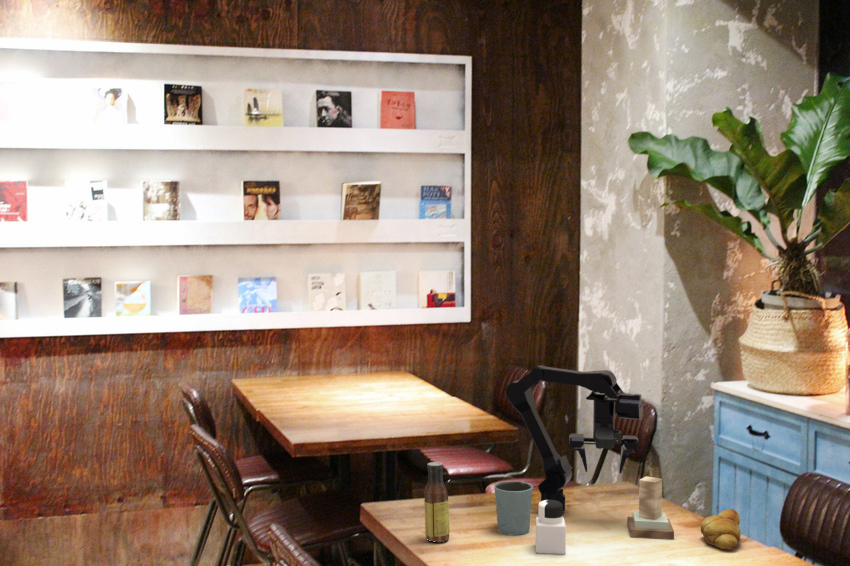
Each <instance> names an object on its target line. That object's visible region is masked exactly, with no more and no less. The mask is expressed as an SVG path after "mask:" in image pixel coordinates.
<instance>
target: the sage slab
mask: <svg viewBox="0 0 850 566" xmlns="http://www.w3.org/2000/svg"><path fill="white" fill-rule="evenodd" d="M632 517H633V522H634V526H635V528H639V529H658V530H669V522H668V519H669V518H668V517H667V515H666V513H665V512H662V516H661V517H660V518H658V519H657V520H651V519H646V518H641V517H639V510H632Z"/></svg>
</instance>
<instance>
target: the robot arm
mask: <svg viewBox="0 0 850 566" xmlns="http://www.w3.org/2000/svg"><path fill="white" fill-rule="evenodd" d="M541 382H549V383H550V382H551V383H557V384H563V385H564V384H565V385H571V386H576V387H577V386H579V387H582V388H584V389H586V390H589V391H591V392H590V393H589V394H588V396H586V397H585V399H586V401H593V412H592V413H593V415H592V416H593V418H592V419H593V421H592V422H593V423H592V431H593V432H592V437H585V435H584V433H570V434H569V436H568V437H569V439H568V440H569V442H568V443H569V448H573V450H574V451H577V452H578V454H579V456H580V458H581V461H582V464H583V467H584V471H585V473H588V463H587V462H588V461H587V454H586V446H585V445H595V448H596V449H598V450H599V449H600V450H601V449H608V450H613V449H614V447H615V446H621V448H620V449H621V450H620V458H619V471H618V473H619V474H622V471H623V470H624V469H623V468H624V466H625V464H626V460H627V459H628V457H629V455H630V454H631V453H632V454H633V453H634V452H635V451H639V450H640V441H639V438H638V437H637V436H636V435H623V436H622V430H615V414H616V416H618V417H619V419H628V420H638V421H641V420H642V418H643V415H644V414H643V413H644V405H643V400H642V394H641V393H636V394H635V393H634V394H628V393H625V392H624V390H623V389H622V388H621V387H620V385H619V384H618V382H617V377H616V375H615V374H614V373H613V371H611V370H605V369H603V370H589V371H579V370H573V369H568V368H567V369H566V368H559V367H550V366H546V365H541V364H540V365H538V366H536V367H534V368H532V370H531V371H530V372H528V373H527V374H526V375H525V376H523V377H522V378H520V379H517V380H515V381H513V382H511V383H509V384H508V385H507V386H506V389H505V396H506V399H508V401H509V403H510V404H511V405H512V407H513V408H514V409H515V410H516V411H517V412H519V414H520V415H521V417H522V420H523V421H524V423H525V426H526V428H527V431H528V432H529V434H530V437H531V438H532V441H533V443H534V444H535V447H536V449H537V451H538V453H539V456H540V457H541V460H542V468H543V474H544V476H545V479H544V480H543V481H542V482H540V483H539V484H538V485H537V487H538V488H537V489H538V491H539V493H540V502H541V501H544V500H556V501H559V502H561V503H562V504H563V512H565V511H566V495H565V494H564V488H565V486H566V484H568V483H569V482H570V480H571V479H572V475H573V471H572V469H573V467H572V466H571V464H570V463H569V460H568V457H567V455H563V456H561V455H560V454H559V453H558V451H557V450H556V448H555V446H554V444H553V441H552V439H551V438H550V435H549V434H548V431H547V430H546V427H545V425H544V422H543V420H542V419H541V417H540V415H539V413H538V410H537V408H536V404H535V403H536V402H535V396H534V392H533V389H535V387H537V386H538V384H540V383H541Z"/></svg>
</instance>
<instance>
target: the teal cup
mask: <svg viewBox="0 0 850 566" xmlns="http://www.w3.org/2000/svg"><path fill="white" fill-rule="evenodd" d="M493 488H494V496H495V497H494V499H495V507H496V508H495V509H496V523H497V524H496V525H497V531H498V530H499V531H500V532H499V531H498V532H499V533H501V532H502V533H501V534H503V533H505V534H504V535H508V534H511V535H510V536H522V535H521V534H523V535H525V533H526V534H528V533H529V532H530V529H531V524H530V523H531V509H532V502H533V501H532V500H533V499H532V498H533V491H534V490H533V489H534V486H533V485H532V484H531V483H529V482H525V481H522V480H521V481H520V480H505V481H498V482H496V483H495V484H494V487H493Z"/></svg>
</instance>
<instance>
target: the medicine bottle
mask: <svg viewBox="0 0 850 566" xmlns="http://www.w3.org/2000/svg"><path fill="white" fill-rule="evenodd" d="M537 509H538V511H537V512H538V516H535V551H536V554H544V555H545V554H546V555H547V554H548V555H565V554H566V545H567V543H566V541H567V540H566V537H567V535H566V534H567V533H566V529H567V527H566V523H565V522H566V521H565V518H564V517H563V516H564V511H563V504H562V503H561V502H559V501H556V500H544V501H541V500H540V501H539V503H538V508H537Z"/></svg>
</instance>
